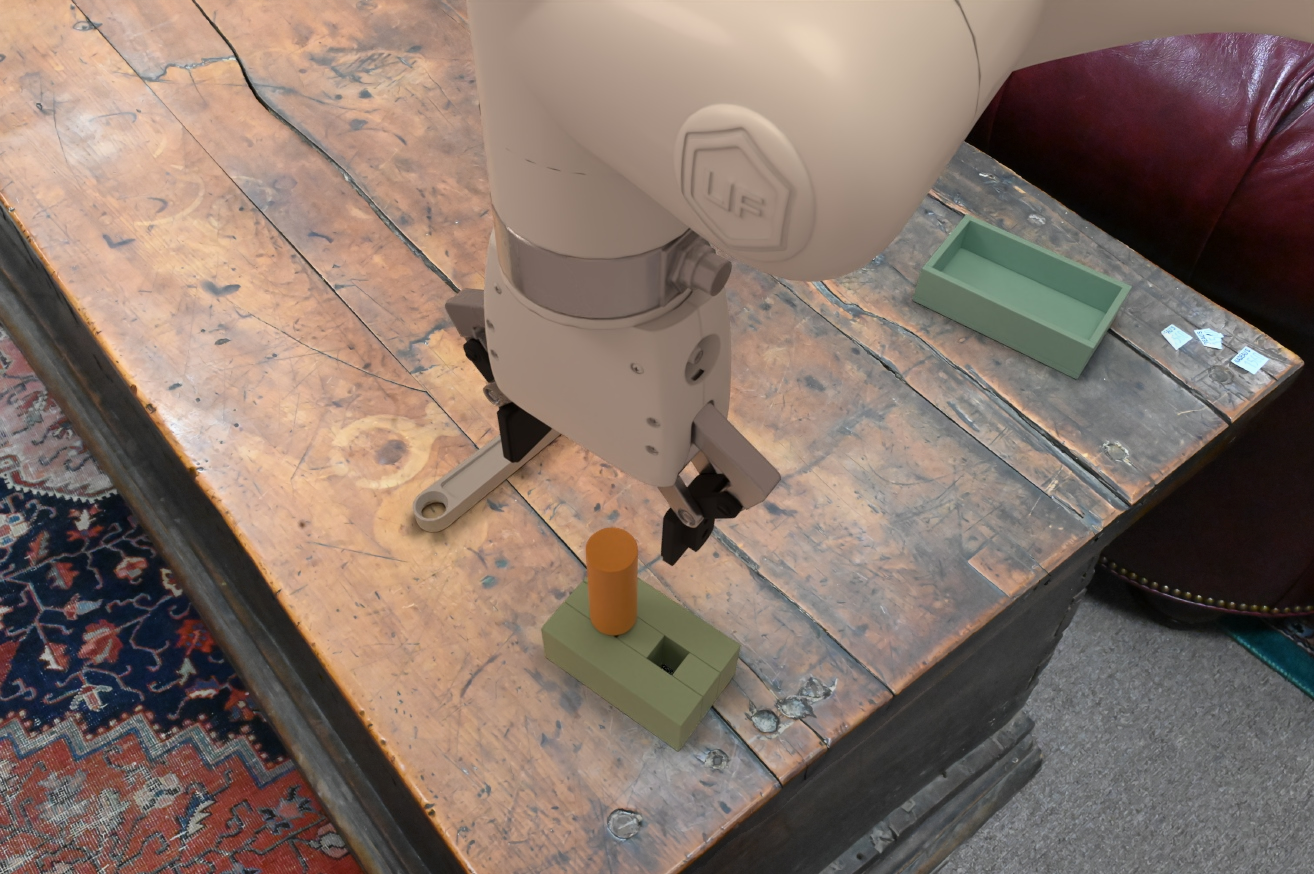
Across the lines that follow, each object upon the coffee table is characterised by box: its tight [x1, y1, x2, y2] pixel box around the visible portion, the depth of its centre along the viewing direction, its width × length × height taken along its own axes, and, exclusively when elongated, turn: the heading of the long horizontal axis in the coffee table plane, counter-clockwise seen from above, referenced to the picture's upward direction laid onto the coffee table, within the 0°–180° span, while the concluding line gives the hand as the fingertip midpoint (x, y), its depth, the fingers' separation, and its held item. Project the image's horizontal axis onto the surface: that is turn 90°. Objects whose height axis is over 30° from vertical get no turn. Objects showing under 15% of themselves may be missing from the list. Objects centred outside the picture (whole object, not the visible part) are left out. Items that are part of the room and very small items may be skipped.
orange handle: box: [585, 526, 639, 638], centre depth 59 cm, size 3×3×12 cm
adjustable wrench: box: [411, 428, 562, 533], centre depth 74 cm, size 25×6×2 cm, turn 132°
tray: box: [912, 213, 1133, 380], centre depth 81 cm, size 8×14×4 cm, turn 54°
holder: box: [540, 575, 742, 752], centre depth 61 cm, size 6×10×4 cm, turn 54°
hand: (604, 491), depth 50 cm, fingers open, 9 cm apart
